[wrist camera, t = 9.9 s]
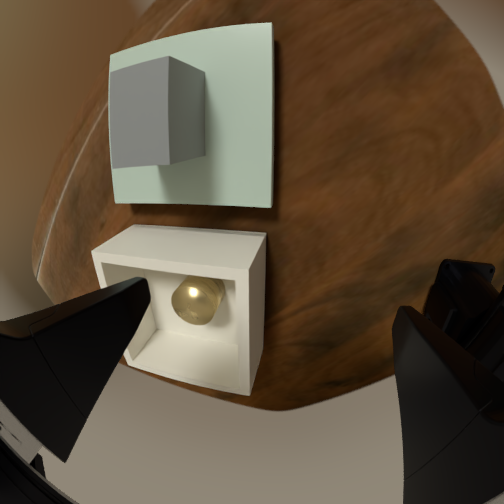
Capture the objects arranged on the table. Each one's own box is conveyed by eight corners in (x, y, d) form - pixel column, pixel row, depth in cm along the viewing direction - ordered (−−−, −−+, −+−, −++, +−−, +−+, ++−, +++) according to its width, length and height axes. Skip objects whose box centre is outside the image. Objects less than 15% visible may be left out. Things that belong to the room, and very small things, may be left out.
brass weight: (224, 270, 22) (211, 290, 19) (226, 307, 24) (215, 328, 21) (184, 266, 23) (167, 283, 20) (188, 301, 24) (174, 320, 22)
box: (266, 232, 21) (248, 269, 15) (263, 348, 26) (249, 396, 20) (134, 224, 23) (91, 251, 18) (155, 328, 28) (128, 364, 23)
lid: (275, 32, 15) (256, -11, 8) (274, 201, 20) (255, 233, 14) (124, 58, 17) (67, 47, 11) (128, 197, 22) (74, 222, 16)
